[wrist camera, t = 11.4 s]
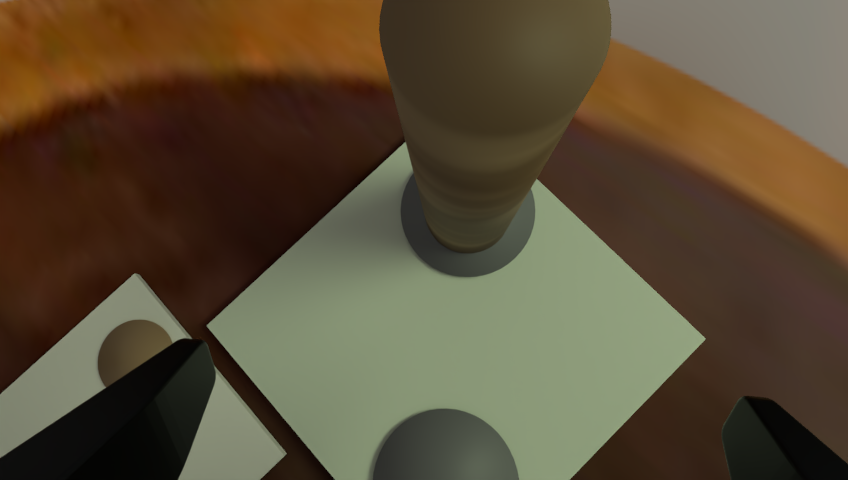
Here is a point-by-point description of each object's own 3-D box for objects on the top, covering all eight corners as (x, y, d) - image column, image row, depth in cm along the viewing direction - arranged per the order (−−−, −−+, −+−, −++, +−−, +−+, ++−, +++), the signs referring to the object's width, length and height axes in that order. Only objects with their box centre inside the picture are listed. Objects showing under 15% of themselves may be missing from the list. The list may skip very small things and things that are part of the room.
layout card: (93, 640, 19) (85, 647, 19) (-45, 439, 21) (-55, 441, 20) (287, 453, 20) (283, 456, 20) (139, 274, 22) (132, 273, 21)
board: (443, 600, 19) (443, 612, 18) (213, 325, 21) (203, 325, 20) (698, 338, 20) (708, 339, 19) (451, 104, 22) (451, 96, 21)
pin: (446, 267, 20) (437, 170, 7) (410, 191, 21) (344, -24, 8) (525, 231, 20) (654, 72, 7) (487, 156, 21) (545, -114, 8)
